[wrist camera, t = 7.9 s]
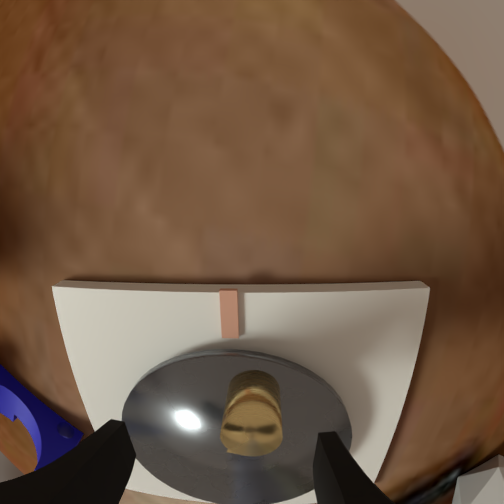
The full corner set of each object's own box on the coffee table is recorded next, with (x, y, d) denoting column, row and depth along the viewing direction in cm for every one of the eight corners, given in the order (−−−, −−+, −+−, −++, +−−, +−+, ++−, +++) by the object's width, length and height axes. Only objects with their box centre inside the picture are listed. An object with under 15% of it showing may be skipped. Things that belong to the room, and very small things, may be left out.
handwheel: (305, 504, 17) (309, 546, 13) (128, 471, 17) (111, 511, 13) (386, 371, 14) (414, 421, 10) (129, 318, 14) (90, 360, 10)
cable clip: (-23, 370, 19) (-60, 400, 13) (-21, 340, 18) (-65, 370, 12) (73, 453, 20) (46, 498, 14) (84, 432, 19) (52, 482, 13)
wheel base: (365, 485, 19) (368, 500, 17) (125, 478, 20) (119, 491, 18) (420, 277, 15) (435, 287, 13) (62, 276, 16) (46, 285, 14)
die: (430, 504, 21) (485, 539, 14) (429, 515, 16) (499, 557, 8) (477, 445, 23) (533, 478, 15) (490, 439, 17) (558, 478, 10)
